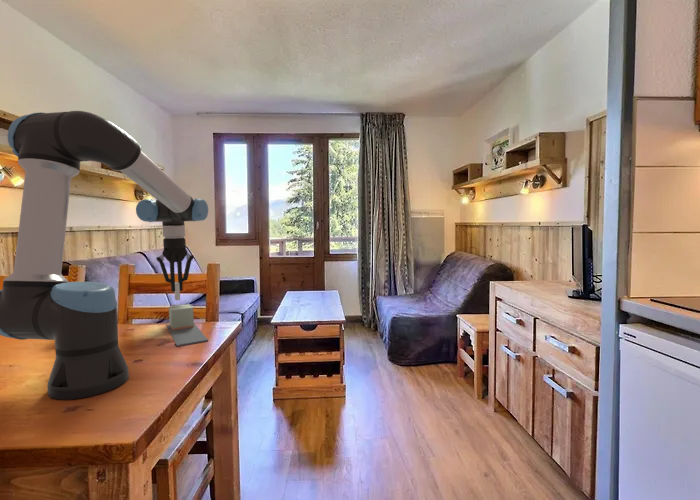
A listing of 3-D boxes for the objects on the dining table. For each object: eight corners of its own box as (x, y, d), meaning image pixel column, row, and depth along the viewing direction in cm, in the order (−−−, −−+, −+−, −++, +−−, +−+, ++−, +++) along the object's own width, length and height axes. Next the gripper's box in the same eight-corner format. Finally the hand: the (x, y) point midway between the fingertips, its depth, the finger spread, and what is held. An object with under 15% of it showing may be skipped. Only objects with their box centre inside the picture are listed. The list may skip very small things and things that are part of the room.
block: (193, 326, 130) (193, 307, 129) (172, 330, 126) (171, 310, 126) (190, 322, 136) (189, 304, 135) (169, 325, 132) (168, 306, 131)
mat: (208, 341, 115) (208, 339, 115) (176, 346, 110) (176, 345, 110) (192, 322, 138) (192, 320, 138) (165, 325, 133) (165, 324, 133)
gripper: (191, 236, 143) (194, 295, 145) (153, 237, 136) (157, 300, 138) (194, 237, 137) (197, 299, 139) (155, 238, 130) (159, 303, 131)
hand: (177, 299), depth 138 cm, fingers closed
